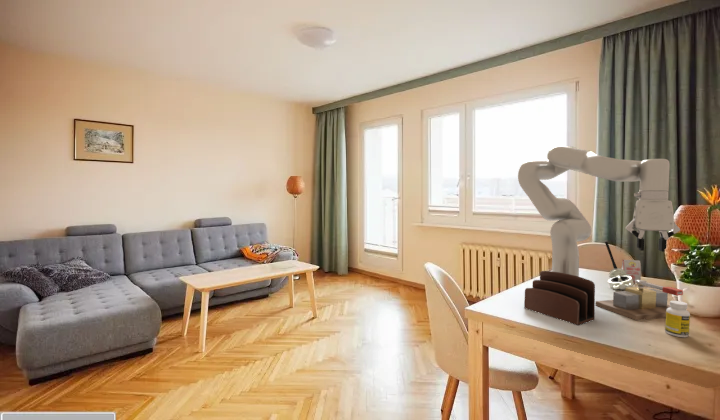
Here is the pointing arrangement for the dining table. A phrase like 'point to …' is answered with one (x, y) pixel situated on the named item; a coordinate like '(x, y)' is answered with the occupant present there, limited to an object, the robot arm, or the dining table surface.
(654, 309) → the board
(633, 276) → the printed carton box
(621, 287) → the butterfly valve
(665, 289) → the valve lever
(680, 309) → the supplement bottle
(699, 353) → the dining table surface
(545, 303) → the letter holder
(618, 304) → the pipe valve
